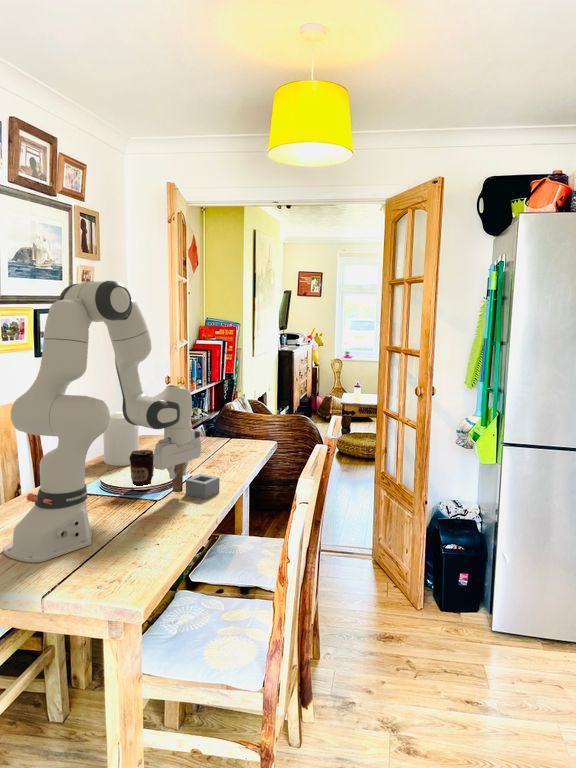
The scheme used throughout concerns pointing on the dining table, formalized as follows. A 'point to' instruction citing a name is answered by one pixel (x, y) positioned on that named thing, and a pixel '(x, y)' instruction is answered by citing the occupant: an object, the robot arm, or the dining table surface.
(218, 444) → the dining table surface
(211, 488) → the socket block
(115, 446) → the container
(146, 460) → the coffee cup
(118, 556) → the dining table surface
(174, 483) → the dowel
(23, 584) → the dining table surface
